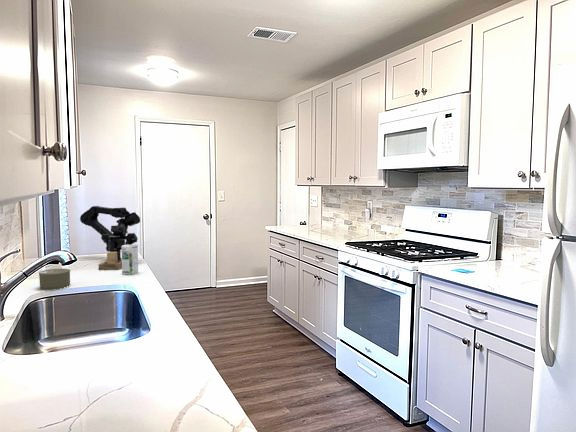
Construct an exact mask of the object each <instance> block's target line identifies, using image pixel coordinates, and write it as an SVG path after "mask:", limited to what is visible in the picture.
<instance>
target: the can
mask: <svg viewBox="0 0 576 432" xmlns="http://www.w3.org/2000/svg"><path fill="white" fill-rule="evenodd" d="M38 275H39V279H38V280H39V289H40V290H41V291H42V290H45V291H53V289H56V290H60V288H62V289H65V288H64V287H66V288H68V287H67V286H69V285H70V286H71V269H69V268H50V269H45V270H41V271H39V272H38ZM70 286H69V287H70Z"/></svg>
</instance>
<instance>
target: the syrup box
mask: <svg viewBox="0 0 576 432" xmlns="http://www.w3.org/2000/svg"><path fill="white" fill-rule="evenodd" d="M121 260H122V268H121V274H122V275H131V276H132V275H135V274H138V273H139V246H138V244H132V245H123V246H122V250H121Z"/></svg>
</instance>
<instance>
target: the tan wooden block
mask: <svg viewBox="0 0 576 432" xmlns="http://www.w3.org/2000/svg"><path fill="white" fill-rule="evenodd" d="M106 261H107V264H117V252H110V251H109V252H108V251H107V253H106Z"/></svg>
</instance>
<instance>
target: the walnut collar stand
mask: <svg viewBox="0 0 576 432" xmlns="http://www.w3.org/2000/svg"><path fill="white" fill-rule="evenodd" d="M119 269H120V270H122V261H117V264H107V260H104V261H103V262H100V263H99V264H98V271H120V270H119Z"/></svg>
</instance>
